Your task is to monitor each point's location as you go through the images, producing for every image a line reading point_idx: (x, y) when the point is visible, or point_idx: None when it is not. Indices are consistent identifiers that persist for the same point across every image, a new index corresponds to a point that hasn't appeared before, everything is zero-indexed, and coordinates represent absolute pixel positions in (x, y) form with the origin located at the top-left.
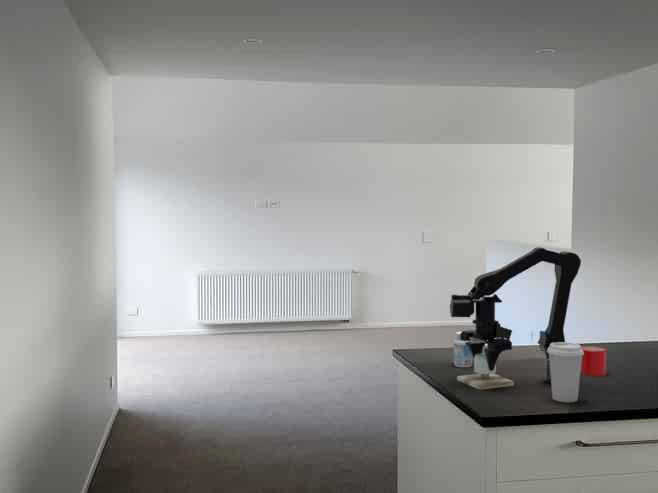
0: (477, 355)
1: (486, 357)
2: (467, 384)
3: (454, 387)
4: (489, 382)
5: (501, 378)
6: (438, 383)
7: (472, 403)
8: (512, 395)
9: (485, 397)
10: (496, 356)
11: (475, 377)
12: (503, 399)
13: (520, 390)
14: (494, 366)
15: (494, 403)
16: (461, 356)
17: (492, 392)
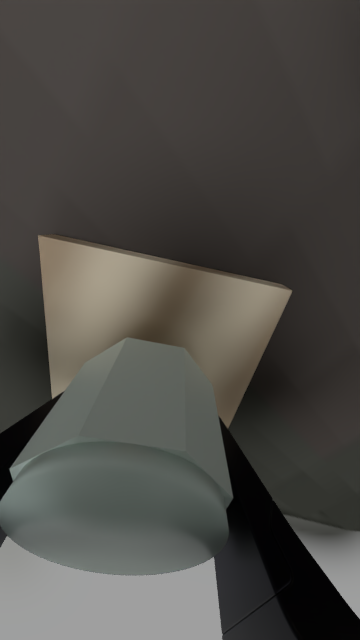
0: (87, 563)
1: (223, 587)
2: None
3: None
4: (214, 394)
5: (202, 298)
6: None
7: (288, 504)
8: (350, 400)
9: (284, 462)
10: (298, 570)
11: None
12: (342, 444)
13: (351, 327)
14: (234, 442)
15: (337, 478)
16: None
17: (270, 420)
